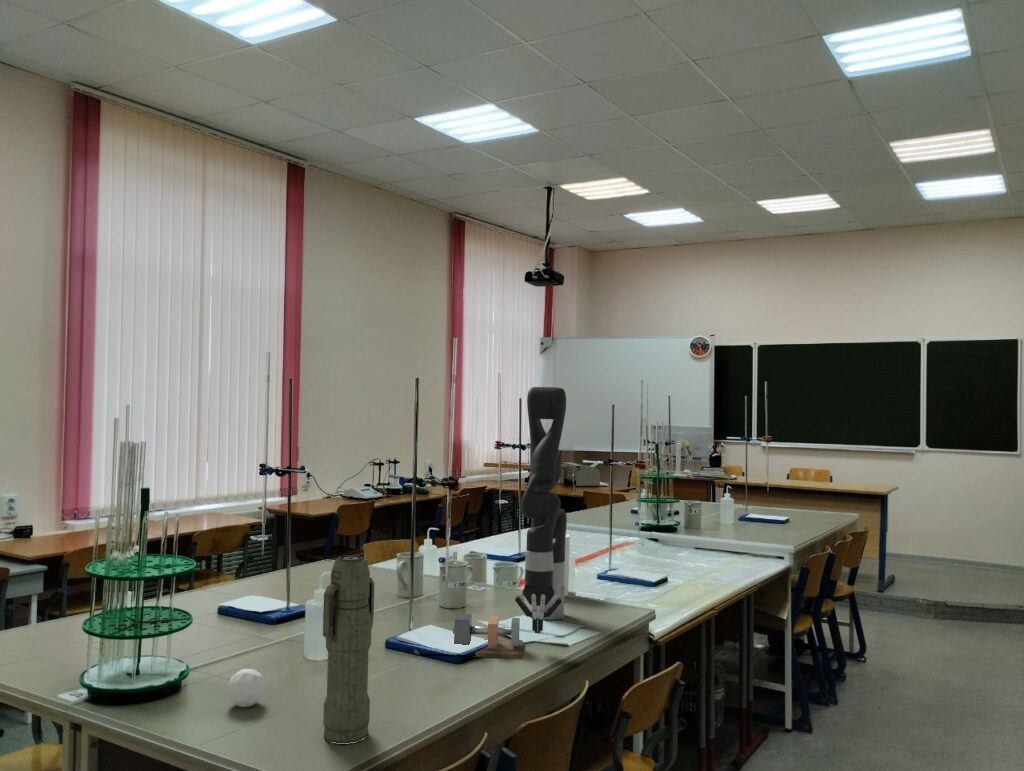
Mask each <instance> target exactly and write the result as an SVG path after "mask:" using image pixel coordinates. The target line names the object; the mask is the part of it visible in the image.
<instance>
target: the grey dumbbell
mask: <svg viewBox="0 0 1024 771" xmlns="http://www.w3.org/2000/svg"><path fill="white" fill-rule="evenodd" d="M520 620H521V619H520V617H512V619H511V627H505V626H504V627H501V626H500V627H499V626H498V628H497V635H498V636H510V640H511V646H519V640H520V624H521V623H520ZM454 626H455V625H453V626H452V627H453V628H452V634H454ZM470 634H471V635H480V636H481V635H484V636H488V626H474V625H473V626H470Z"/></svg>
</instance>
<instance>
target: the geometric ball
mask: <svg viewBox="0 0 1024 771" xmlns="http://www.w3.org/2000/svg"><path fill="white" fill-rule="evenodd" d="M265 689H266V680H265V679H264V677H263V675H262V674H261V673H260V672H258V671H257V670H256V669H254V668H242V669H241V670H239V671H237V672H236V673H234V674H233V675H232V676H231V679H230V681H229V683H228V686H227V696H228V697H229V700H230V701H231V702H232V704H234V705H236V706H237V707H239V708H240V707H241V708H248V707H249V708H250V707H252V706H254V705H255V704H257V703H258V702H259V701H261V700H262V698H263V695H264V693H265Z"/></svg>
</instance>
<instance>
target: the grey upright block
mask: <svg viewBox="0 0 1024 771" xmlns="http://www.w3.org/2000/svg"><path fill="white" fill-rule="evenodd" d="M472 620H473V614H472V613H456V616H455V617H454V625H453V626H454V633H453V635H454V637H453V638H454V644H462V645H469V644H470V641H471V638H472V634H470V626H472V624H473V621H472Z"/></svg>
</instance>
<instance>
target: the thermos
mask: <svg viewBox="0 0 1024 771" xmlns="http://www.w3.org/2000/svg"><path fill="white" fill-rule="evenodd" d="M370 574H371V572H370V568H369V563H368V561H367V559H366V558H365V557H363V556H362V555H361V556H360V555H356V554H355V555H342V556H339V557H338V558H335V561H334V563H333V566H332V568H331V572H330V584H329V585H328V586H327V587H326V589H325V591H324V592H323V612H322V613H323V614H322V615H323V616H322V617H323V619H322V620H323V621H322V636H323V637H324V638H325V648H326V651H327V675H326V676H327V679H326V697H325V699H324V702H323V717H322V718H323V719H322V720H323V721H322V723H323V727H324V728H323V729H324V730H323V739H324V738H325V739H326V740H328V741H330V742H336V743H350V742H356V741H359V740H361V739H363V738H365V737H366V736H367V735H368V736H369V723H370V718H371V717H370V715H371V714H370V712H371V711H370V710H371V708H370V707H371V703H370V702H371V700H370V696H369V693H368V685H369V684H368V682H369V681H368V680H369V650H370V648H371V645H372V628H373V627H374V615H375V614H374V613H375V612H374V611H375V610H374V609H375V581H374V580H373V577H370V576H371V575H370ZM325 739H324V740H325ZM326 740H325V741H326Z"/></svg>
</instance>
